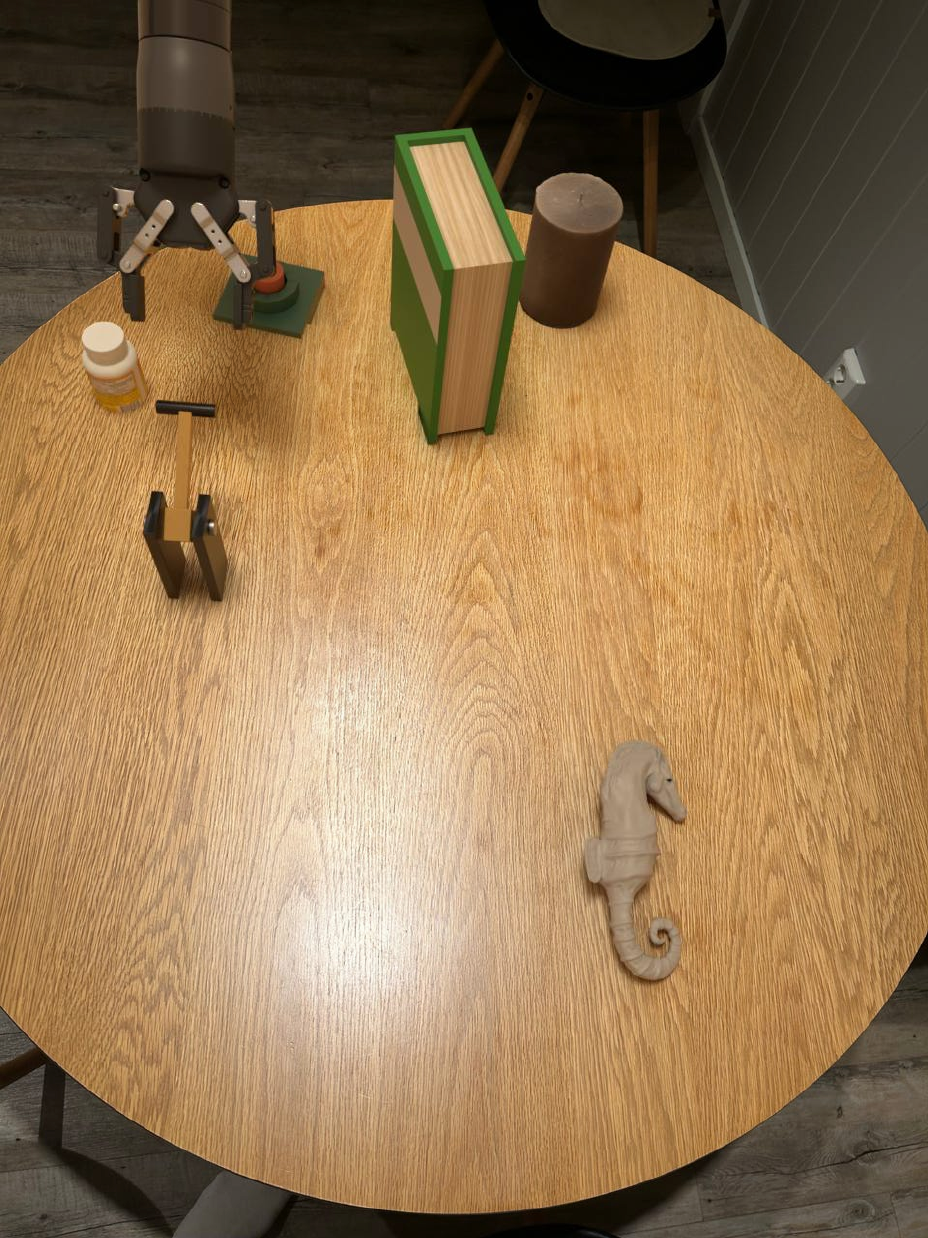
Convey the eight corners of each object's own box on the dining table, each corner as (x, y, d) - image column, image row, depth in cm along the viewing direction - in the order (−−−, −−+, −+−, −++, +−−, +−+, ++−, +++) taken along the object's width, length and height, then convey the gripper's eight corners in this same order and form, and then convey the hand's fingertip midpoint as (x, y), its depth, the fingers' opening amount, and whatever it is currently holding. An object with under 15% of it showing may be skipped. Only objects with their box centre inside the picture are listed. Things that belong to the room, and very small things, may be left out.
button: (248, 290, 104) (246, 278, 102) (257, 267, 106) (255, 255, 104) (279, 297, 104) (278, 285, 102) (288, 274, 106) (287, 262, 104)
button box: (215, 328, 106) (210, 302, 102) (242, 267, 110) (238, 240, 107) (301, 347, 106) (299, 321, 102) (325, 285, 110) (323, 258, 107)
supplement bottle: (136, 427, 99) (114, 364, 90) (89, 412, 99) (63, 347, 90) (159, 390, 101) (140, 325, 93) (113, 375, 101) (90, 309, 93)
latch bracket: (167, 540, 93) (139, 462, 82) (249, 545, 93) (232, 469, 82) (149, 630, 88) (117, 561, 77) (235, 635, 89) (216, 567, 78)
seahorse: (739, 964, 78) (684, 730, 84) (629, 990, 73) (578, 738, 79) (699, 966, 82) (649, 743, 88) (592, 991, 77) (546, 751, 83)
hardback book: (493, 434, 102) (526, 259, 81) (428, 444, 101) (443, 270, 80) (451, 315, 110) (471, 127, 89) (390, 324, 108) (395, 135, 87)
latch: (160, 402, 82) (153, 396, 79) (219, 406, 82) (213, 401, 80) (154, 539, 82) (146, 539, 80) (211, 543, 83) (206, 543, 80)
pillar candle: (589, 336, 110) (619, 232, 97) (509, 316, 111) (528, 210, 97) (603, 279, 115) (633, 172, 102) (525, 260, 115) (546, 151, 102)
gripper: (79, 94, 71) (89, 319, 76) (270, 112, 72) (267, 333, 77) (110, 114, 78) (117, 319, 83) (283, 130, 79) (280, 331, 84)
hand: (189, 325), depth 80 cm, fingers open, 8 cm apart
